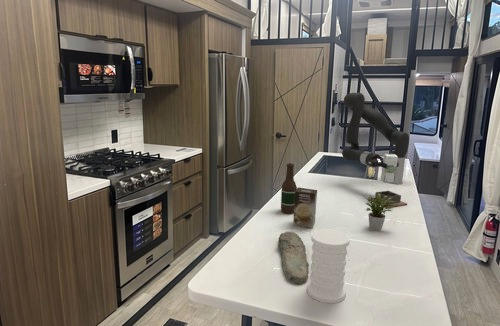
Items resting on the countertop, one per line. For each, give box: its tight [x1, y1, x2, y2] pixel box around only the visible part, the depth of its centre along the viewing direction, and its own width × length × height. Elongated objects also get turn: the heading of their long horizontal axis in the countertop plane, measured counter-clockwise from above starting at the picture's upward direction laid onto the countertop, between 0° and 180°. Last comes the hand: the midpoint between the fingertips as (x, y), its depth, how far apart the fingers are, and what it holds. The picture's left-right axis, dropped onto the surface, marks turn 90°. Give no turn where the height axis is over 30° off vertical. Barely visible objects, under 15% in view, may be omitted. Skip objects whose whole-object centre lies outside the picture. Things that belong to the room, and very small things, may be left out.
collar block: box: [367, 190, 408, 209], centre depth 191 cm, size 14×14×6 cm
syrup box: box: [380, 153, 398, 184], centre depth 188 cm, size 6×6×14 cm
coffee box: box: [292, 186, 318, 229], centre depth 157 cm, size 9×6×16 cm
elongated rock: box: [278, 231, 310, 285], centre depth 128 cm, size 35×5×10 cm
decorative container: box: [306, 228, 350, 304], centre depth 106 cm, size 12×12×18 cm
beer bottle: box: [280, 162, 298, 215], centre depth 172 cm, size 8×8×24 cm
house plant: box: [364, 191, 398, 232], centre depth 154 cm, size 14×14×16 cm
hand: (392, 165), depth 186 cm, fingers closed on syrup box, 7 cm apart
